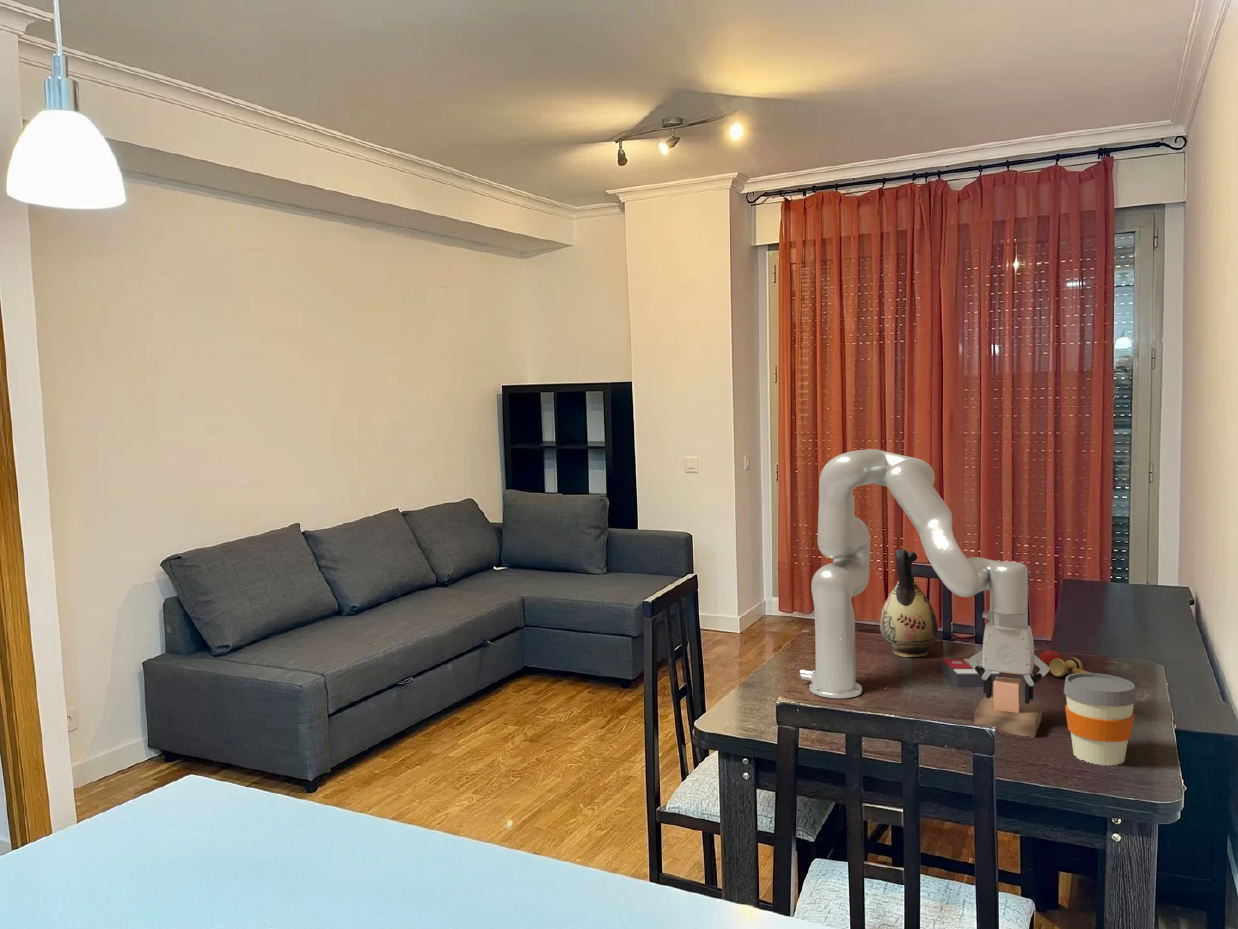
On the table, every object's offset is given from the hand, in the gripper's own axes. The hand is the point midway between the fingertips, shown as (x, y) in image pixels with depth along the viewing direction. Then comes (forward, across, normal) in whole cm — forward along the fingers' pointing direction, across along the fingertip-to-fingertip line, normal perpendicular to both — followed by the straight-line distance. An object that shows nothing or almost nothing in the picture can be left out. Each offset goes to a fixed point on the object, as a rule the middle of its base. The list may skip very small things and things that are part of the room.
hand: (1008, 698), depth 194 cm
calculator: (+6, -13, +30) cm, 33 cm away
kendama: (+6, +10, +40) cm, 42 cm away
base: (+6, 0, 0) cm, 6 cm away
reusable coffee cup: (+6, +18, -11) cm, 22 cm away
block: (+2, 0, 0) cm, 2 cm away
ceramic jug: (+6, -32, +45) cm, 56 cm away
